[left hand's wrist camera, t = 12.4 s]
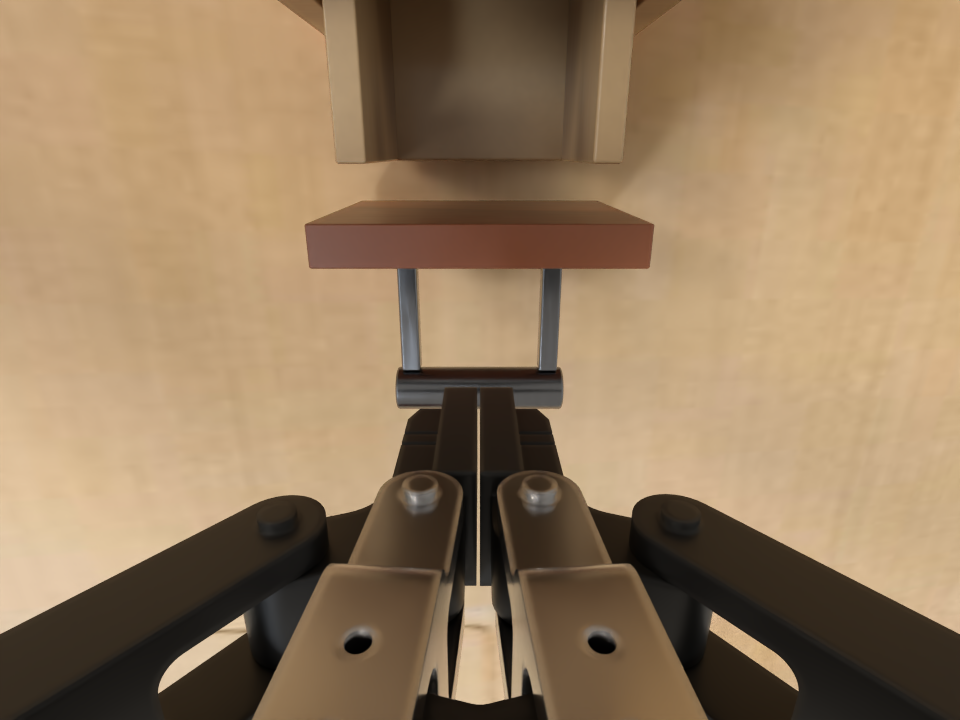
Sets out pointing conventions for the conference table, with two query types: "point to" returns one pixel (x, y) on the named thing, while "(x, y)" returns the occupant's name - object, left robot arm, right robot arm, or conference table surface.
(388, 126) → the drawer
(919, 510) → the conference table surface
